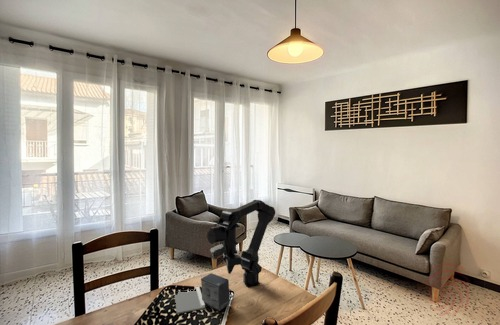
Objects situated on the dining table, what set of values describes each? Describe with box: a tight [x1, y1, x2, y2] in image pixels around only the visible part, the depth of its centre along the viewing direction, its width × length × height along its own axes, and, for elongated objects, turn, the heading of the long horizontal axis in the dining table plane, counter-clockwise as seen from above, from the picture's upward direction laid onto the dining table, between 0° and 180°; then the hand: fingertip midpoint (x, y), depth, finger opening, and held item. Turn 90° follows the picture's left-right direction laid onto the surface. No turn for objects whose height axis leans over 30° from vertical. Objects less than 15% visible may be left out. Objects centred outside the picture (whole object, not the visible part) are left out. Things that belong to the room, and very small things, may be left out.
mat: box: [174, 286, 206, 315], centre depth 111 cm, size 11×16×2 cm
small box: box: [200, 273, 231, 312], centre depth 108 cm, size 11×6×10 cm, turn 52°
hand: (229, 273), depth 116 cm, fingers closed
